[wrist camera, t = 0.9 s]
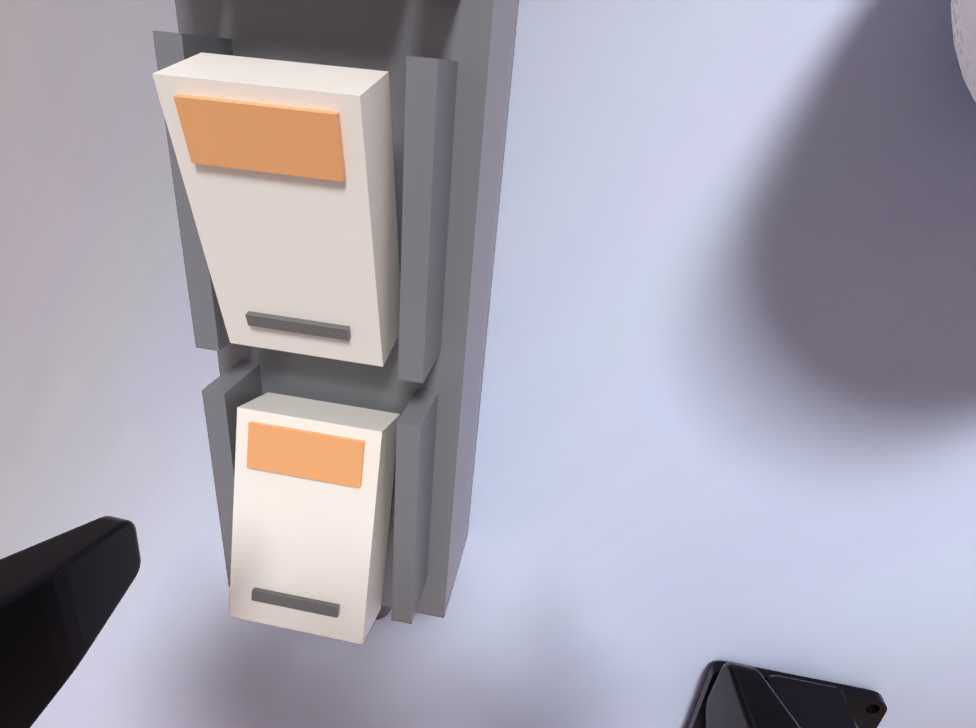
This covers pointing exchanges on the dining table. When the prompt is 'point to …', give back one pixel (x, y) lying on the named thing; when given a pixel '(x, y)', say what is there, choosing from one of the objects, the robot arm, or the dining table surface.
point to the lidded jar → (965, 40)
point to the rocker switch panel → (421, 243)
